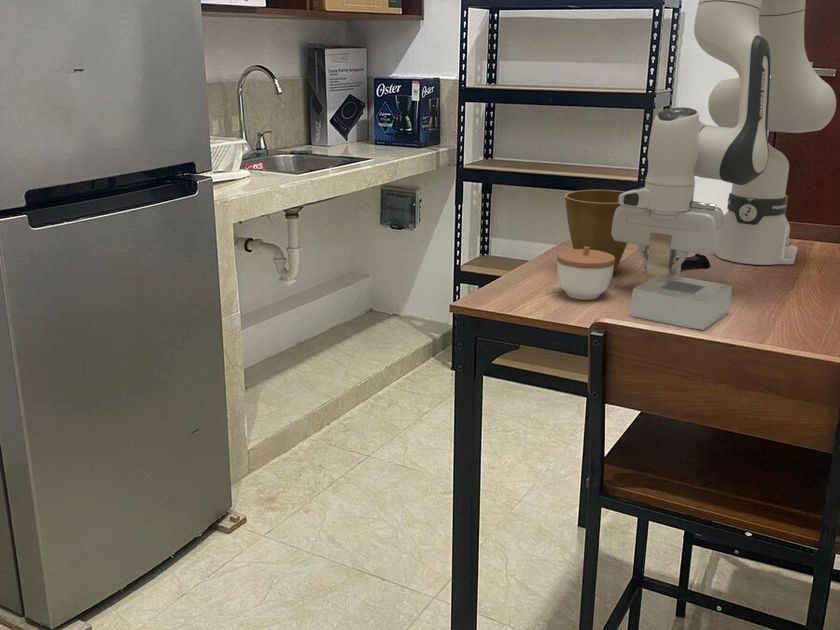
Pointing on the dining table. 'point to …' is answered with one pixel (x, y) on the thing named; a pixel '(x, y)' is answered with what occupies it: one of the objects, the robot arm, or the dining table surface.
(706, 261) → the electric trimmer
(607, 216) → the plant pot
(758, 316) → the dining table surface
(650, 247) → the ash peg
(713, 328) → the dining table surface
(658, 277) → the socket block
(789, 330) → the dining table surface
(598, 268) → the lidded jar
